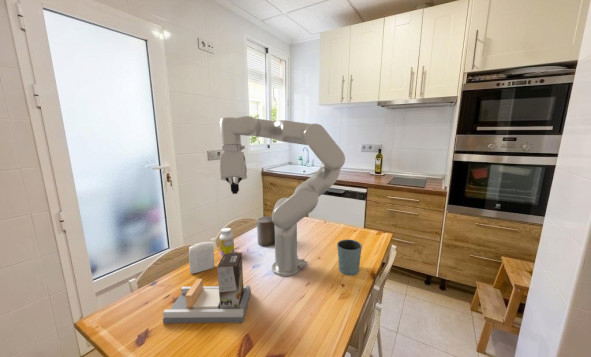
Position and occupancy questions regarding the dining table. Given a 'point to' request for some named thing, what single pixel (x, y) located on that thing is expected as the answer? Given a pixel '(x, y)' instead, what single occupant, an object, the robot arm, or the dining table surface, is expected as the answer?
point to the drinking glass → (349, 256)
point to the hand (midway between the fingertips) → (235, 193)
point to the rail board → (205, 310)
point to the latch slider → (202, 297)
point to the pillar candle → (265, 231)
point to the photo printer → (201, 257)
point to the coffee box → (230, 281)
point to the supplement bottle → (226, 241)
